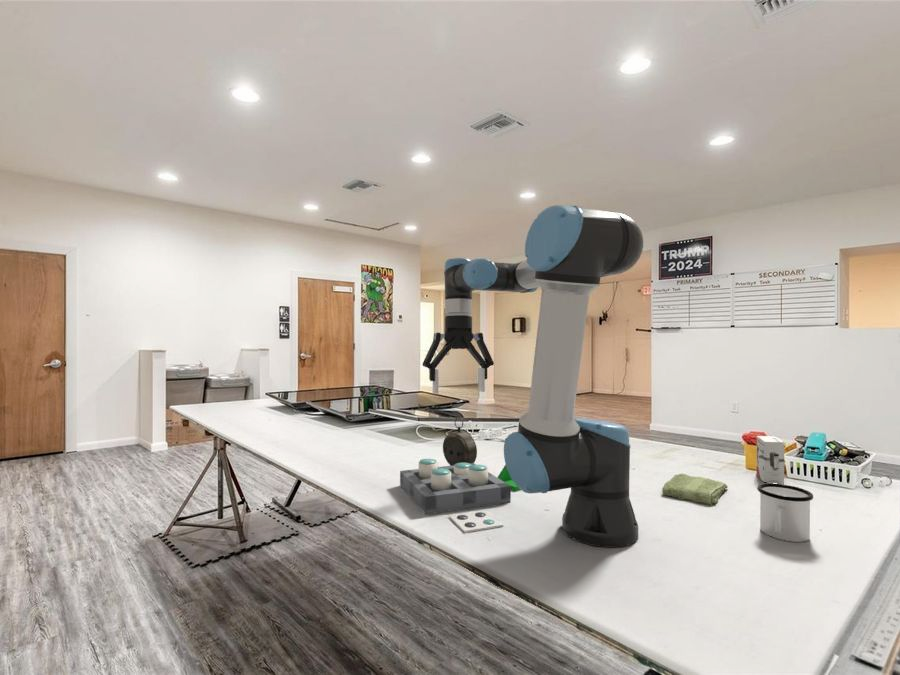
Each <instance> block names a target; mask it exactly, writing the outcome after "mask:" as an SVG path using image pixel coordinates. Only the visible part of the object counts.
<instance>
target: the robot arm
mask: <svg viewBox="0 0 900 675" xmlns="http://www.w3.org/2000/svg"><path fill="white" fill-rule="evenodd" d="M643 249H644V236H643V233H642V230H641V228H640V227H639V225H638V224H637V223H636V222H635V221H634V220H633V219H632V218H631V217H629V216H627V215H626V214H623V213H621V212H616V211H615V212H614V211H607V210H601V209H596V208H595V209H594V208H591V207H583V206H579V205H578V206H577V205H571V204H570V205H567V204H566V205H562V204H561V205H559V204H557V205H551V206H550V205H549V207H546V208H545V209H543V210H542V211H540V212H539V213H538V215H537V217H536V218H534V220H533V221H532V223H531V225H530V227H529V229H528V232H527V235H526V239H525V243H524V254H525V255H524V256H525V258H526V259H525V260H522V261H519V262H517V263H516V262H515V263H512V262H511V263H510V262H508V263H507V262H497V261H492V260H490V259H489V258H483V257H482V258H474V259H472V260H471V259H469V258H466V257H454V258H448V259H446V261H445V262H444V271H443V273H444V274H443V275H444V314H446V316H445V317H444V333H441V332H434V333H433V338H432V339H433V341H432V342H431V345H430V347H429V349H428V351H427V353H426V355H425V357H424V359H423V362H422V366H423V367H425V368H427V369H428V370H429V371H428V372H429V373H428V377H429V381H430V382H432V394H435V395H438V394H439V369H437V367H438V365H440V363H441V361H442V360H443V359H444V358H445V356H446V355H447V354H448V353H449V351H451V350H459V349H460V350H465V349H466V350H467V352H469V353H470V356H472V357H473V359H474V360H475V361H476V362H477V364H478V365H479V367H478V369H477V370H478V372H477V378H478V380H477V381H478V382H477V384H478V385H477V386H478V388H477V389H478V392H482V393H483V392H485V391H486V387H485V386H486V383H485V381H486V380H487V379H488V368H490V367H492V366H494V365H495V364H494V360H493V358H492V355H491V354H490V351H489V349H488V347H487V344H486V343H485V340H484V333H483V332H476V333H473V317H472V313H473V292H474V291H483V292H484V291H485V292H507V293H513V292H514V293H521V294H526V293H527V294H528V293H535V292H536V291H537V289H539V288H540V289H541V295H540V303H539V304H540V305H539V311H538V312H539V314H538V321H537V322H538V323H537V331H536V338H535V339H536V340H535V347H534V356H533V357H534V358H533V366H532V373H531V374H532V375H531V385H530V392H529V401H528V409H527V412H525V413H524V414H522V415H521V416H520V417H519V419H518V426H517V427H518V428H517V431H514V432H511V433H510V434H508V435H507V436H506V438H505V440H504V444H503V458H504V463H505V464H506V467H507V470H508V472H509V475H510V477H511V479H512V480H513V482H514V483H515V485H516V486H517V487H518V488H519V489H521V490H520V491H522V492H524V493H526V494H538V493H540V494H547V493H548V492H552V491H553V492H554V491H560V490H566V489H570V494H569V496H568V499H567V503H566V506H565V510H564V512H563V514H562V518H561V529H562V531H563V533H564V534H566V536H568V537H569V538H571V539H573V540H575V541H577V542H580V543H583V544H587V545H590V546H596V547H604V548H605V547H606V548H621V547H627V546H630V545H632V544H635V543H636V542H637V541H638V539H639V523H638V520H637V519H636V514H635V511H634V509H633V506H632V505H633V504H632V501H631V499H630V468H631V466H630V465H631V464H630V459H631V458H630V457H631V444H630V433H629V430H628V429H627V427H626V426H624V425H622V424H620V423H616V422H612V421H607V420H606V421H605V420H599V419H594V418H593V419H591V418H582V417H574V416H575V414H574V413H575V407H576V399H577V391H578V385H579V384H578V383H579V377H580V368H581V361H582V354H583V353H582V352H583V345H584V339H585V338H584V337H585V330H586V325H587V324H586V323H587V315H588V308H589V300H590V295H591V293H592V292H594V291H595V290H596V289H598V287H599V286H600V284H601V283H600V282H601V278H604V277H608V276H614V275H620V274H623V273H625V272H627V271H629V270H631V269H633V267H634V266H635V265H636V264H637V262H638V261H639V260H640V258H641V255H642V254H643ZM443 339H444V340H445V343H444V345H443V346H442V348H441V350H439V352H438V354H437V355H436V356H435V354H436V351H437V350H438V347H439V345H440V343H441V341H443ZM473 339H474V341H476V345H477V347H478V348H479V351H480V353H481V354H480V353H479V351H478V350H477V349H476V348H475V346H474V344H473V343H472V341H473ZM481 355H482V356H481ZM434 356H435V357H434Z"/></svg>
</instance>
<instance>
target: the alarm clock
mask: <svg viewBox="0 0 900 675" xmlns="http://www.w3.org/2000/svg"><path fill="white" fill-rule="evenodd" d="M457 420H460V421H461V426H457V424H456V421H457ZM454 426H455V428H456V429H457V431H454V432H450V433H449V434H447V435H446V436H445V437H444V440H443V444H442V452H443V456H444V459H445V460H446V462H447V463H448V465H449V466H452V465H455V464H456V463H469V464H472V463H475V462H476V459H477V457H478V456H477V455H478V448H477V447H478V446H477V444H476V442H475V439H474V438H473V436H472V435H471V434H470V433H469V432H467V431H466V430H462V428H463V426H464V420H463V419H462V418H461V417H456V418H455V420H454Z"/></svg>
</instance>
